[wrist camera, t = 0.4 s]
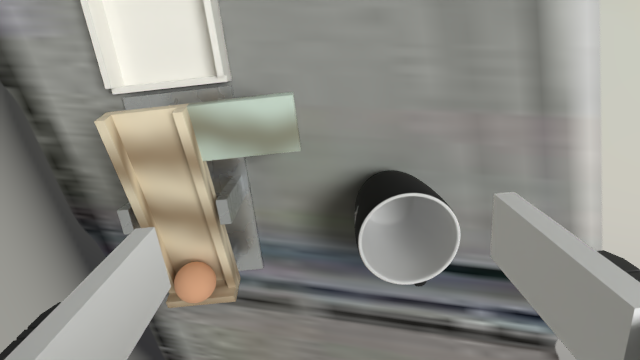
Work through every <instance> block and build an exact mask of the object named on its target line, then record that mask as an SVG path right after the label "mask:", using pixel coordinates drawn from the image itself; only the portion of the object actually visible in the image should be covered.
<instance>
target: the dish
mask: <svg viewBox="0 0 640 360" xmlns="http://www.w3.org/2000/svg"><path fill="white" fill-rule="evenodd" d="M80 1H81V5H82V8H83V12H84V15H85V19H86V22H87V26H88V29H89V33H90V36H91V40H92V43H93V47H94V50H95V54H96V57H97V61H98V64H99V68H100V71H101V75H102V79H103V82H104V86H105V89H110V88H111V90H112V93H113V94H121V93H130V92H139V91H148V90H157V89H166V88H175V87H184V86H193V85H202V84H211V83H220V82H228V81H231V80H232V77H231V71H230V66H229V60H228V54H227V49H226V43H225V37H224V32H223V26H222V20H221V15H220V9H219V4H218V0H80Z"/></svg>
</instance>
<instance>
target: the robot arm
mask: <svg viewBox="0 0 640 360" xmlns="http://www.w3.org/2000/svg"><path fill="white" fill-rule="evenodd" d="M490 257H491V258H492V259H493V260H494V262H495V263H496V264H497V265H498V266H499V268H500V269H501V270H502V271H503V272H504V274H505V275H506V276H507V277H508V278H509V280H510V281H511V282H512V283H513V284H514V286H515V287H516V288H517V289H518V290H519V291H520V293H521V294H522V295H523V296H524V297H525V299H526V300H527V301H528V302H529V303H530V305H531V306H532V307H533V308H534V309H535V311H536V312H537V313H538V314H539V315H540V317H541V318H542V319H543V320H544V321H545V322H546V324H547V325H548V326H549V327H550V328H551V330H552V331H553V332H554V333H555V334H556V336H557V337H558V338H559V339H560V340H561V342H562V343H563V344H564V345H565V346H566V348H568V350H569V351H570V352H571V353H572V355H573V356H574V357H575V358H576V359H577V360H640V270H639V269H638V268H637V267H635V266H634V265H632V264H631V263H629V262H628V261H626V260H625V259H623V258H621V257H618V256H616V255H613V254H611V253H609V252H606V251H604V250H603V251H596V250H594V249H593V248H592V247H590V246H589V245H587V244H586V243H585V242H583V241H582V240H580V239H579V238H578V237H576V236H575V235H573V234H572V233H571V232H569V231H568V230H567V229H565V228H564V227H562V226H561V225H560V224H558V223H557V222H555V221H554V220H553V219H551V218H550V217H549V216H547V215H546V214H544V213H543V212H542V211H540V210H539V209H537V208H536V207H535V206H533V205H532V204H531V203H529V202H528V201H526V200H525V199H524V198H522V197H521V196H519V195H518V194H517V193H515V192H507V193H497V194H494V202H493V219H492V237H491V254H490ZM170 288H171V284H170V281H169V277H168V274H167V270H166V266H165V263H164V259H163V256H162V252H161V248H160V245H159V241H158V237H157V234H156V230H155V227H148V228H138V229H134V230H133V231H132V232H131V233H130V234H129V235H128V236H127V237H126V238H125V239H124V240H123V241H122V242H121V243H120V244H119V245H118V246H117V247H116V248H115V249H114V250H113V251H112V252H111V253H110V254H109V255H108V256H107V257H106V258H105V260H103V261H102V262H101V264H99V265H98V267H96V268H95V269H94V270H93V272H91V273H90V274H89V275H88V277H86V279H85V280H83V282H82V283H81V284H80V285H78V286H77V287H76V288H75V289H74V290H73V292H71V293H70V294H69V296H67V297H66V299H64V300H63V301H62V302H59V303H58V304H56V305H54V306H53V307H52V308H50V309H48V310H47V311H45V312H44V313H42V314H41V315H40V316H39V317H38V318H37V319H36V320H35V321H34V322H33V323H32V324H31V325H30V326H29V327H28V329H27V330H24V331H23V332H22V333H21V334H20V335H19V336H18V337H17V340H16V341H13V342H12V343H11V344H10V345H9V346H8V347H7V348H6V349H5V350H4V351H3V352H2V353H1V354H0V360H127V359H128V357H129V355H130V354H131V352H132V350H133V348H134V347H135V345H136V344H137V342H138V340H139V339H140V337H141V335H142V334H143V332H144V331H145V329H146V327H147V326H148V324H149V322H150V321H151V319H152V317H153V316H154V314H155V312H156V311H157V309H158V307H159V306H160V304H161V303H162V301H163V299H164V298H165V296H166V294H167V293H168V291H169V289H170Z"/></svg>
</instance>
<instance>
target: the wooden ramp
mask: <svg viewBox="0 0 640 360" xmlns="http://www.w3.org/2000/svg"><path fill="white" fill-rule="evenodd" d="M94 122H95V125H96V127H97V129H98V131H99V134H100V136H101V138H102V141H103V143H104V145H105V147H106V150H107V152H108V154H109V156H110V159H111V161H112V163H113V166H114V168H115V170H116V172H117V175H118V177H119V179H120V182H121V184H122V186H123V188H124V191H125V193H126V195H127V197H128V200H129V202H130V204H131V207H132V209H133V211H134V213H135V216H136V218H137V220H138V223H139V225H140V227H141V228H148V227H155V230H156V234H157V237H158V241H159V245H160V248H161V252H162V256H163V259H164V263H165V266H166V270H167V274H168V277H169V281H170V284H171V288H170V289H169V293H170V294H169V296H168V299H167V301H166V304H167V306H168V308H173V307H184V306H194V305H204V304H215V303H225V302H235V301H236V298H237V293H238V288H239V283H240V275H239V272H238V268H237V265H236V261H235V258H234V254H233V251H232V248H231V244H230V241H229V237H228V234H227V230H226V227H225V224H223V225H221V224H220V219H219V214H218V210H217V205H216V199H217V198H218V196H216V193H215V189H214V186H213V183H212V179H211V176H210V172H209V169H208V166H207V162H206V161H211V160H220V159H230V158H239V157H248V156H258V155H267V154H277V153H286V152H295V151H301V144H300V137H299V130H298V123H297V116H296V109H295V102H294V95H293V92H287V93H278V94H269V95H260V96H251V97H242V98H233V99H224V100H215V101H206V102H197V103H188V104H179V105H170V106H161V107H152V108H143V109H134V110H125V111H116V112H107V113H105V114H103V115H102V116H101V117H100V118H98V119H97V120H96V121H94ZM191 262H203V263H205V264H207V265H209V266H210V267H211V268H212V269H213V271H214V272H215V275H216V287H215V289H214V291H213V293H212V294H211V296H210V297H209V298H207V299H206V300H204V301H202V302H199V303H187V302H185V301H183V300H181V299H180V298H179V297H178V295H177V294H176V292H175V289H174V280H175V276H176V274H177V273H178V271H179V270H180V269H181V268H182V267H183V266H185V265H186V264H188V263H191Z"/></svg>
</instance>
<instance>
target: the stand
mask: <svg viewBox="0 0 640 360" xmlns="http://www.w3.org/2000/svg"><path fill="white" fill-rule="evenodd" d="M233 98H234V94H233V88H232V85H231V86H222V87H213V88H204V89H196V90H187V91H178V92H169V93H160V94H151V95H142V96H133V97H125V98H123V102H124V106H125V109H126V110H134V109H143V108H152V107H161V106H170V105H179V104H188V103H197V102H206V101H215V100H224V99H233ZM206 162H207V166H208V169H209V172H210V176H211V179H212V183H213V186H214V189H215V193H216V196H218V198H217V199H216V205H217V210H218V214H219V219H220V224H221V225H223V224H225V227H226V230H227V234H228V237H229V241H230V244H231V248H232V251H233V254H234V258H235V261H236V265H237V268H238V271H243V270H253V269H263V268H264V263H263V257H262V252H261V246H260V240H259V235H258V229H257V223H256V218H255V212H254V207H253V201H252V195H251V190H250V184H249V178H248V173H247V167H246V162H245V157H239V158H230V159H220V160H211V161H206ZM117 213H118V216H119V219H120V223H121V226H122V229H123V232H124V235H125V234H130V233H131V232H132V231H133V230H134V229H138V228H141V227H140V225H139V223H138V220H137V218H136V216H135V213H134V211H133V209H132V207H131V204H130V202H127V203H126V204H125V205H124V206H122V207H121V208H120V209H118V210H117Z"/></svg>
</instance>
